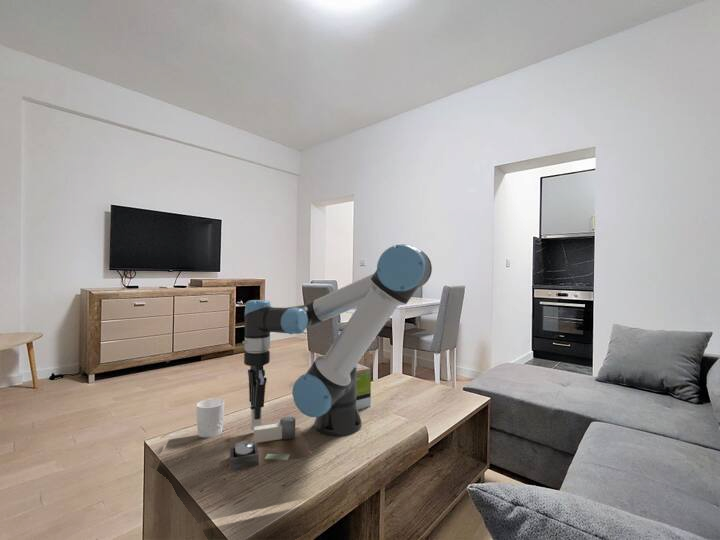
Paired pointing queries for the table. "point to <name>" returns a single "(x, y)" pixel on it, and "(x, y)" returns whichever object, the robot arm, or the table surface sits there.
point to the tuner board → (269, 451)
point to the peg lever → (275, 430)
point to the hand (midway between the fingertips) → (256, 428)
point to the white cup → (210, 417)
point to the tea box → (363, 386)
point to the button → (243, 448)
